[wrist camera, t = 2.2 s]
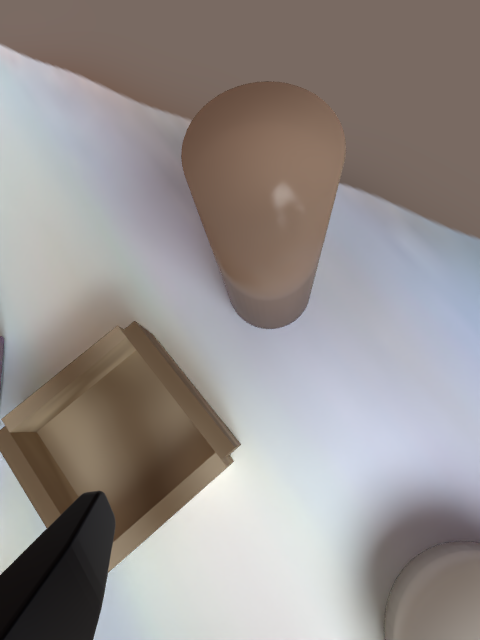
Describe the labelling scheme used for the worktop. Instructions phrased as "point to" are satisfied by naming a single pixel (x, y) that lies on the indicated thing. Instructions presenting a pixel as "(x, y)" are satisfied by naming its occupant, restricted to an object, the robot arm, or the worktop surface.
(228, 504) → the worktop surface
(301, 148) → the brown dome-top cylinder
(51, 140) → the worktop surface
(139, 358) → the tray
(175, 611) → the worktop surface
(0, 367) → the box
